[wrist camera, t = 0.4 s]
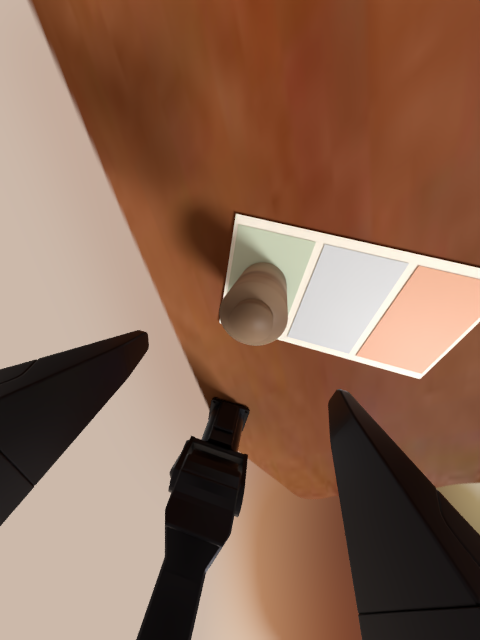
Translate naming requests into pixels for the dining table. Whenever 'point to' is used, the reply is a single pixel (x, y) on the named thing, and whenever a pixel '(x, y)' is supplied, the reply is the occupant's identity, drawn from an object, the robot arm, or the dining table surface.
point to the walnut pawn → (256, 305)
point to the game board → (362, 295)
